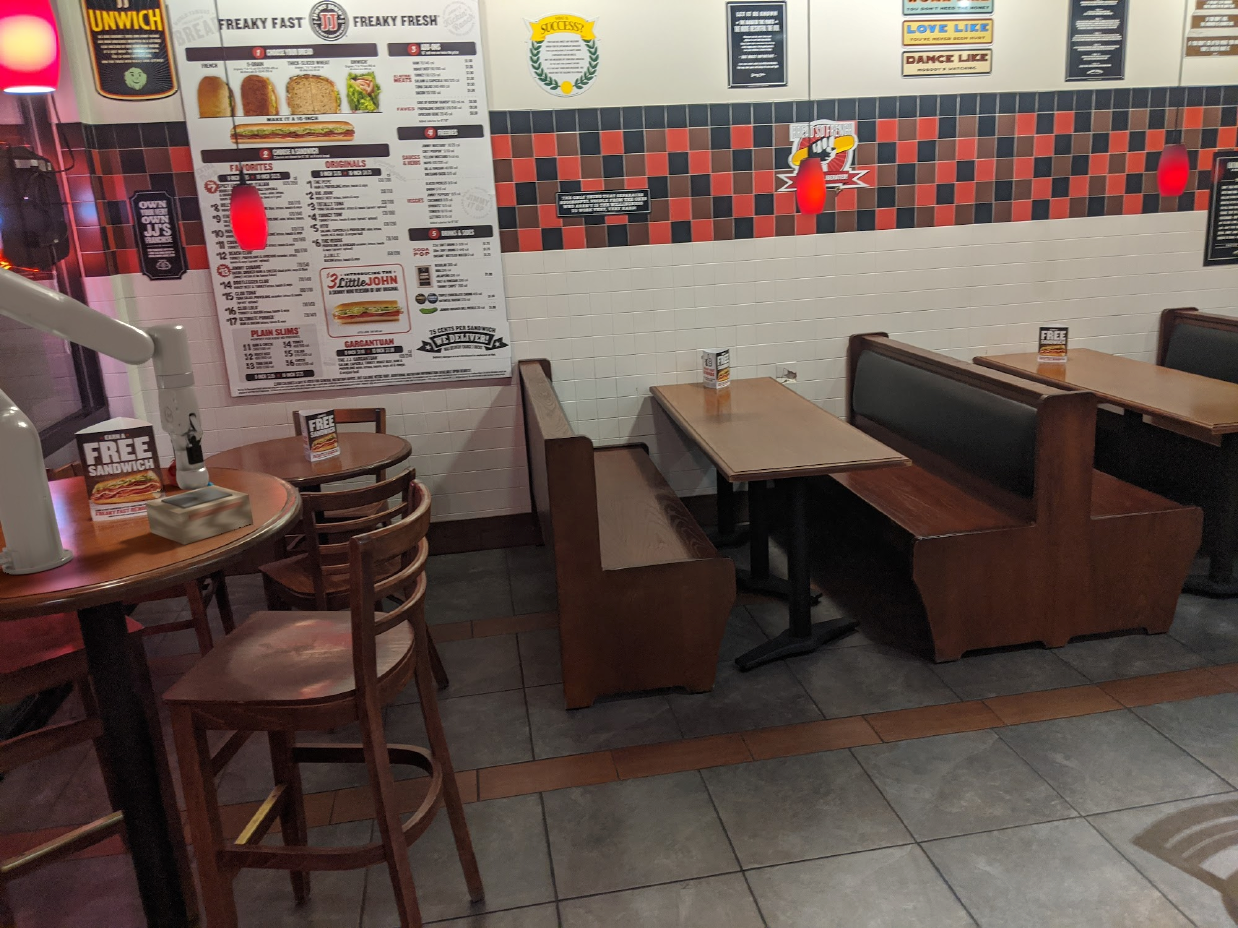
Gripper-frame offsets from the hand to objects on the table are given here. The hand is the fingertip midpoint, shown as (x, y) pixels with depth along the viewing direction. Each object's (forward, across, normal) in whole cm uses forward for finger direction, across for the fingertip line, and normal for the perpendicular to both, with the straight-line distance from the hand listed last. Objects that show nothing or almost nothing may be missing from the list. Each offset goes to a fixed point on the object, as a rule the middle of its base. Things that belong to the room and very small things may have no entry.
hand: (189, 461), depth 205 cm
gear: (+16, -14, +12) cm, 25 cm away
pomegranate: (+16, -43, +18) cm, 49 cm away
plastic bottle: (+7, 0, 0) cm, 7 cm away
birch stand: (+16, 0, 0) cm, 16 cm away
